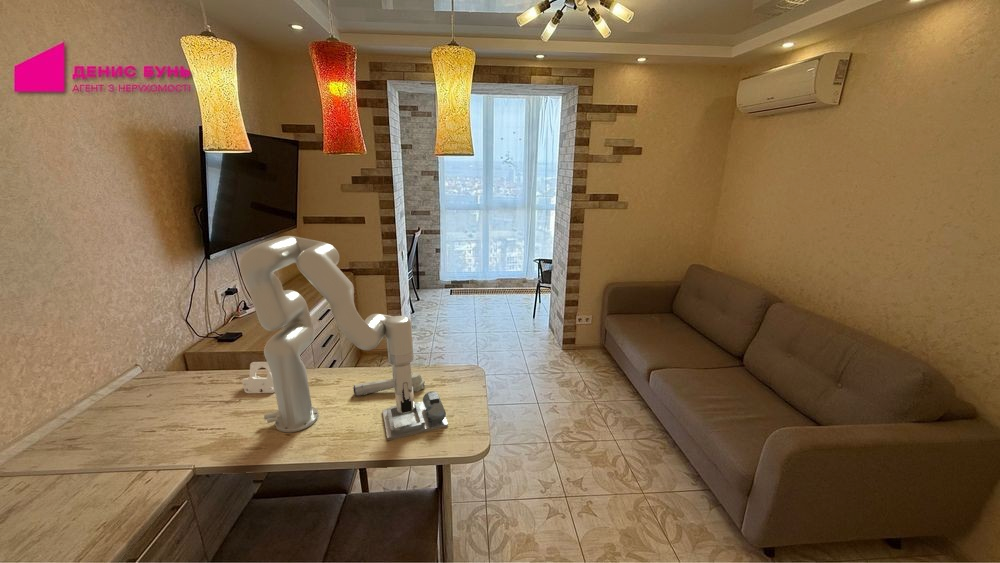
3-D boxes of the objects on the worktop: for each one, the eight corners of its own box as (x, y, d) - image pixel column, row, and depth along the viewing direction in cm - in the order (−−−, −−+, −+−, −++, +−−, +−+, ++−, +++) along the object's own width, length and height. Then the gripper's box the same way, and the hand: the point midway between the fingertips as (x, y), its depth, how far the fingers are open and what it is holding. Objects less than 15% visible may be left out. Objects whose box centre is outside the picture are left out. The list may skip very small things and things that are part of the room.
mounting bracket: (282, 390, 148) (283, 361, 149) (273, 393, 142) (275, 363, 143) (249, 391, 148) (251, 362, 149) (239, 393, 141) (241, 363, 143)
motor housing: (387, 440, 120) (385, 418, 117) (382, 412, 133) (380, 391, 130) (447, 426, 126) (447, 404, 124) (437, 400, 140) (436, 380, 137)
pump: (397, 414, 122) (395, 392, 120) (395, 404, 127) (393, 383, 125) (415, 410, 124) (414, 388, 122) (412, 401, 129) (411, 379, 127)
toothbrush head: (354, 382, 144) (422, 367, 148) (358, 397, 146) (425, 382, 150) (352, 389, 139) (422, 374, 143) (356, 405, 141) (425, 389, 145)
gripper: (385, 345, 126) (390, 394, 132) (391, 371, 111) (396, 424, 117) (408, 341, 129) (412, 389, 135) (418, 366, 114) (422, 418, 119)
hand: (405, 405), depth 126 cm, fingers closed on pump, 5 cm apart
